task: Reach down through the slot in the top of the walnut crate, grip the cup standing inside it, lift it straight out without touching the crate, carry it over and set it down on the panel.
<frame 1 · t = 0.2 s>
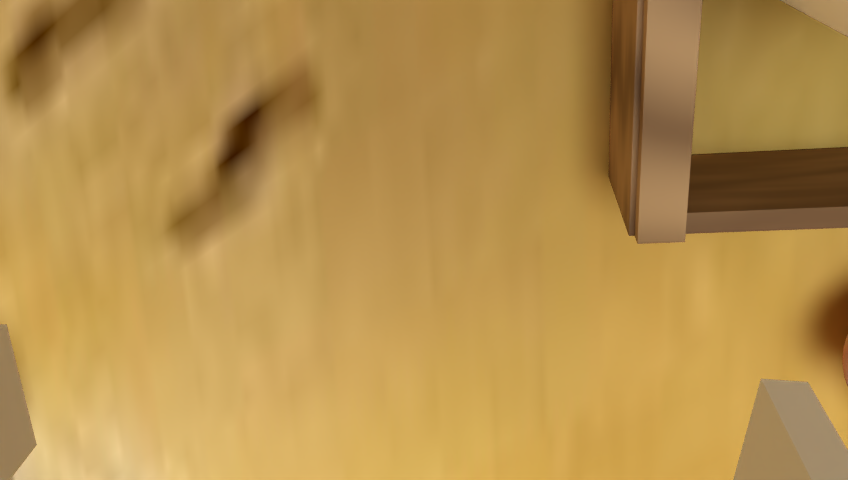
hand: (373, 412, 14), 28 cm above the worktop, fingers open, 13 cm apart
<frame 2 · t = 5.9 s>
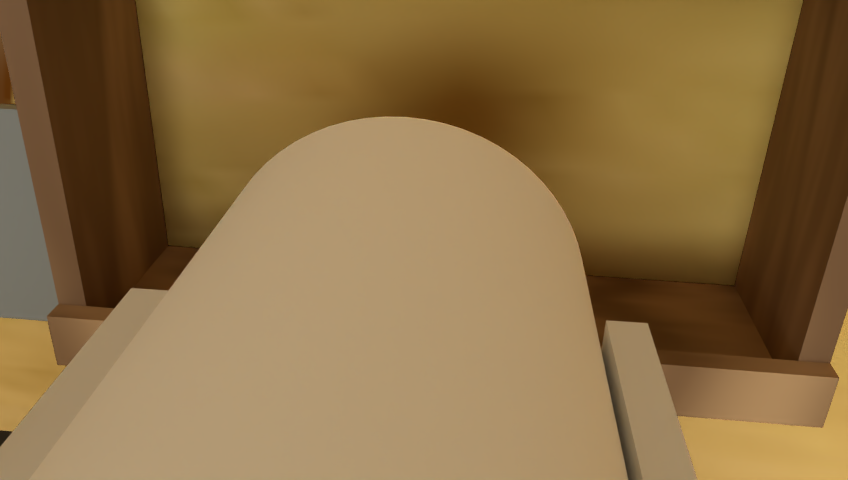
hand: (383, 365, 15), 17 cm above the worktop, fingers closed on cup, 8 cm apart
panel: (8, 214, 34), on the worktop
crate: (451, 104, 30), on the worktop
cup: (400, 286, 18), point 14 cm above the worktop, touching gripper
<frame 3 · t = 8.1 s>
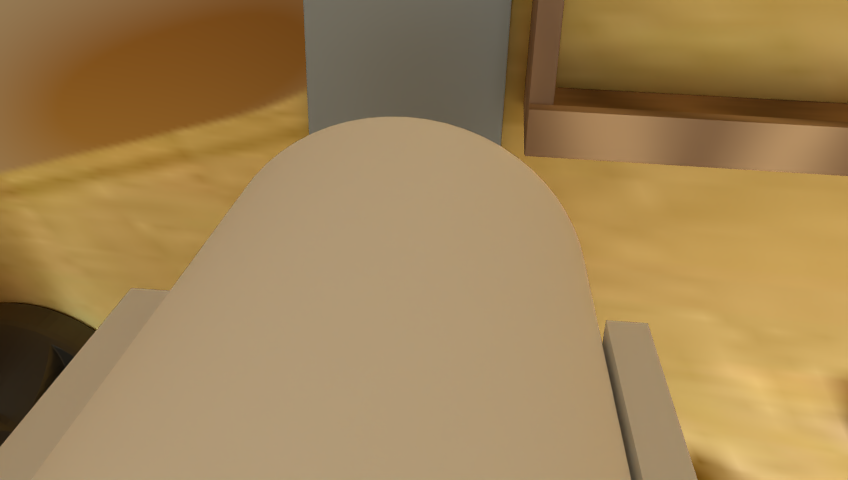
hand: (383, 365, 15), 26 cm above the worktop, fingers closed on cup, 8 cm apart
panel: (406, 59, 39), on the worktop
cup: (401, 287, 18), point 24 cm above the worktop, touching gripper
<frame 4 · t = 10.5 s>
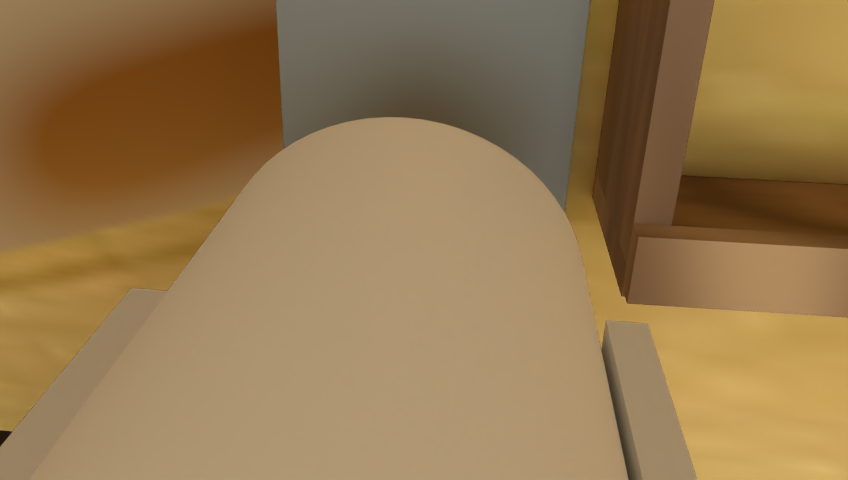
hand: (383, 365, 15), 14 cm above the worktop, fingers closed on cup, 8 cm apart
panel: (427, 135, 28), on the worktop
cup: (400, 287, 18), point 11 cm above the worktop, touching gripper
when the fingers open (5 cm above the worktop, at t = 12.4 s): cup drops 1 cm, resting on panel.
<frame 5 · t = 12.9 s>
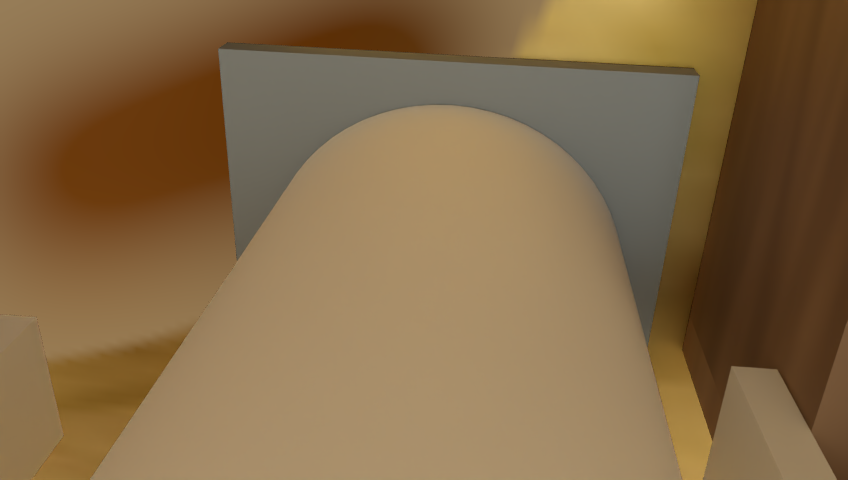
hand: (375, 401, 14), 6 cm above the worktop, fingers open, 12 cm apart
panel: (445, 260, 19), on the worktop
cup: (443, 269, 19), resting on panel
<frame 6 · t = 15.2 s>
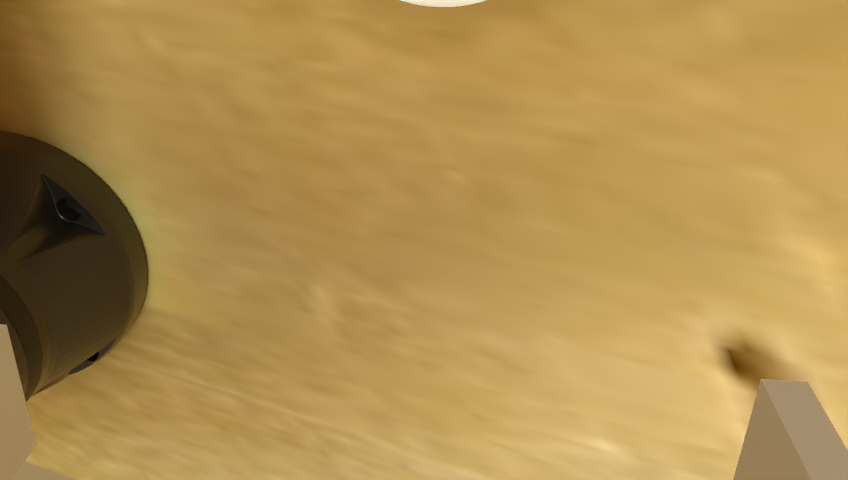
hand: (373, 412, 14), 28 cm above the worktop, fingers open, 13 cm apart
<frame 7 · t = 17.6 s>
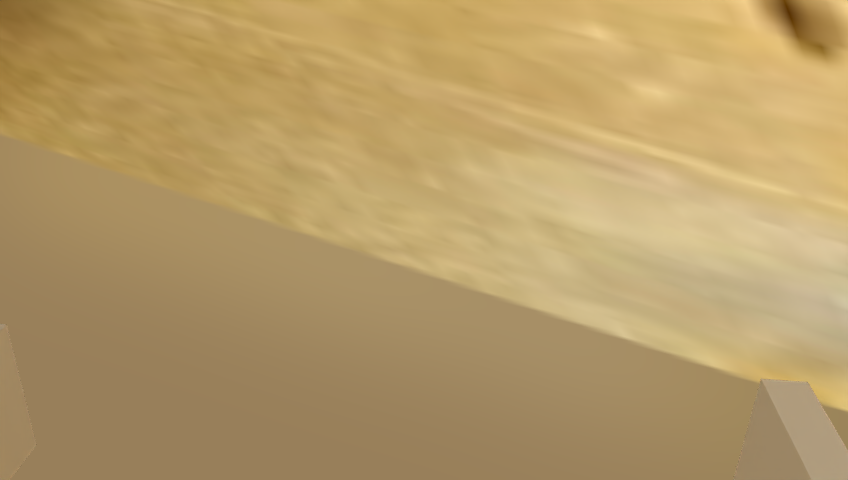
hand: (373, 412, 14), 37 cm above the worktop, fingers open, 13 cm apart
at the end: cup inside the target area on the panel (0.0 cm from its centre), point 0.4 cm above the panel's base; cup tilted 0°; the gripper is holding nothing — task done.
